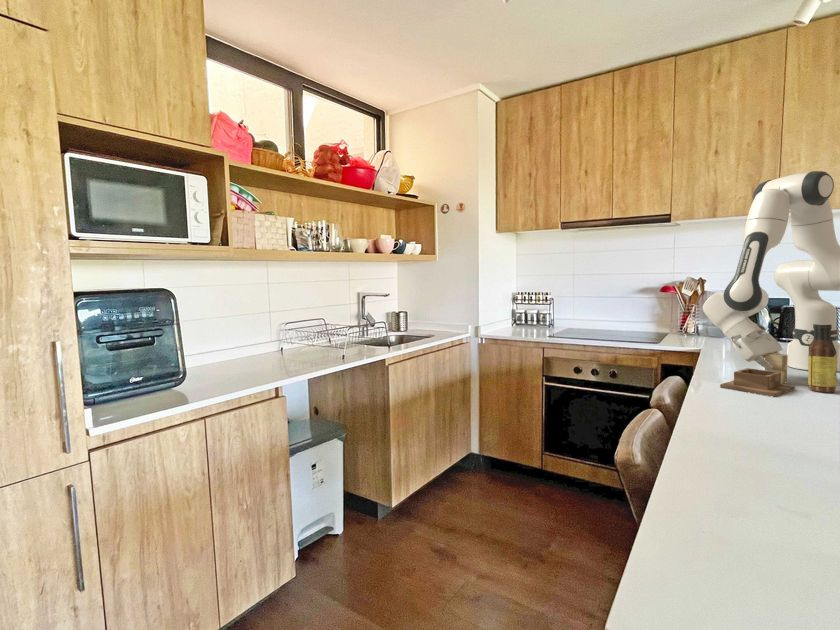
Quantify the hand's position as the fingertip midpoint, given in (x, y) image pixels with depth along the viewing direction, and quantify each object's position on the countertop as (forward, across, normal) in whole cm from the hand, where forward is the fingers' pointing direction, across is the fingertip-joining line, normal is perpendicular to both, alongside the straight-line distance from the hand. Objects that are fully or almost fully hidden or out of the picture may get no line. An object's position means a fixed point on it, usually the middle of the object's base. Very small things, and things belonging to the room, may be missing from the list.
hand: (778, 367), depth 142 cm
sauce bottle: (+12, -2, -4) cm, 13 cm away
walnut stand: (+3, -13, +4) cm, 14 cm away
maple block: (+3, 0, +4) cm, 5 cm away
